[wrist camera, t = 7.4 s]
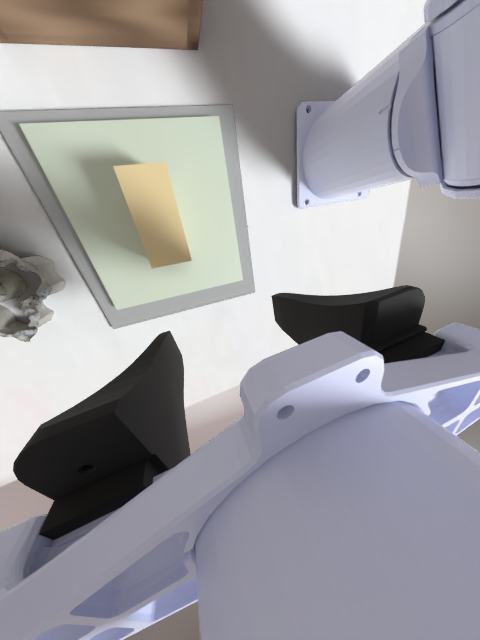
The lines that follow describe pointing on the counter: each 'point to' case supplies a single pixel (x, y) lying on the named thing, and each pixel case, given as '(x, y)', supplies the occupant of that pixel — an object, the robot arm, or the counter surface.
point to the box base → (102, 23)
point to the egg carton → (11, 285)
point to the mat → (42, 187)
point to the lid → (145, 202)
